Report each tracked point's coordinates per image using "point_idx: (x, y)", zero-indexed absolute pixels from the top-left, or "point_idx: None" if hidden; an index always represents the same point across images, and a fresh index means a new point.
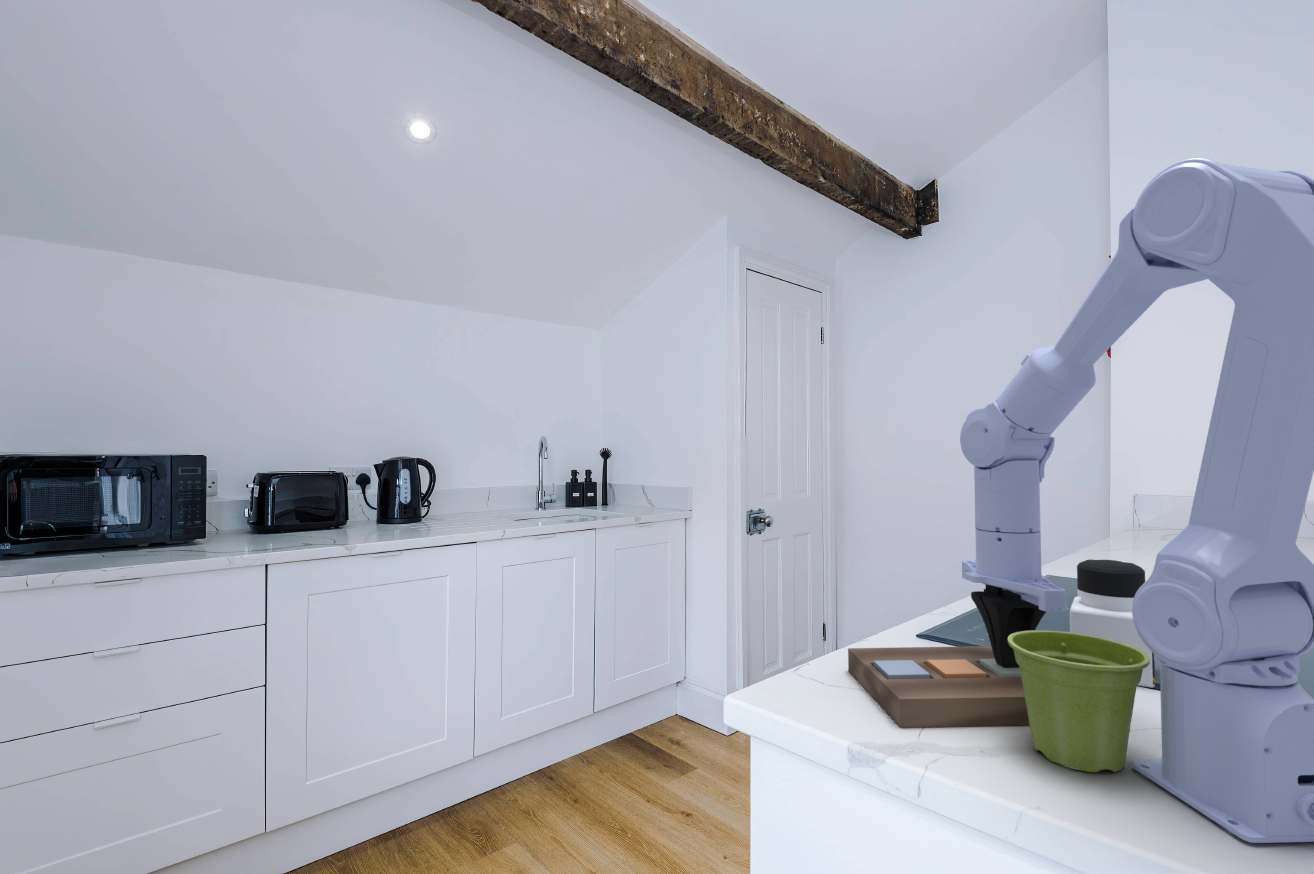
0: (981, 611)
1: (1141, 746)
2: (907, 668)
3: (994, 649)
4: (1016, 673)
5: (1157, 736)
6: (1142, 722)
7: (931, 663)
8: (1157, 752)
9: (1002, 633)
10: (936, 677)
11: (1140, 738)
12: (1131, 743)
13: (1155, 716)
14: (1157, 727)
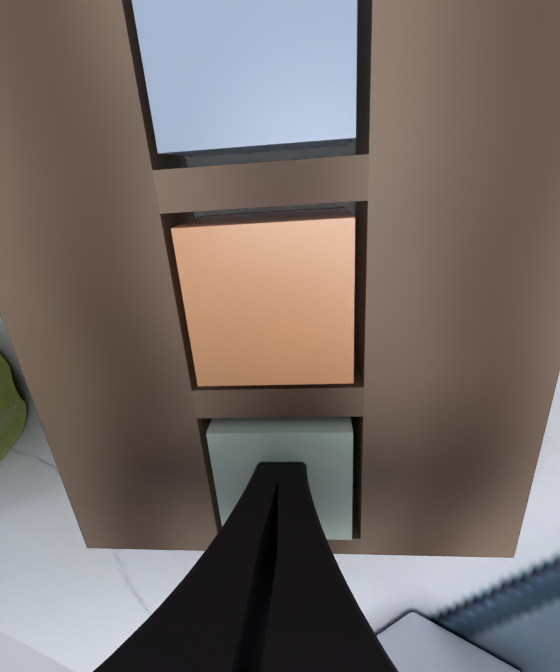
0: (341, 643)
1: (34, 512)
2: (226, 57)
3: (287, 493)
4: (213, 472)
5: (87, 558)
6: (148, 572)
7: (305, 220)
8: (15, 520)
9: (190, 570)
10: (167, 184)
11: (71, 530)
12: (43, 505)
13: None
14: (129, 579)
